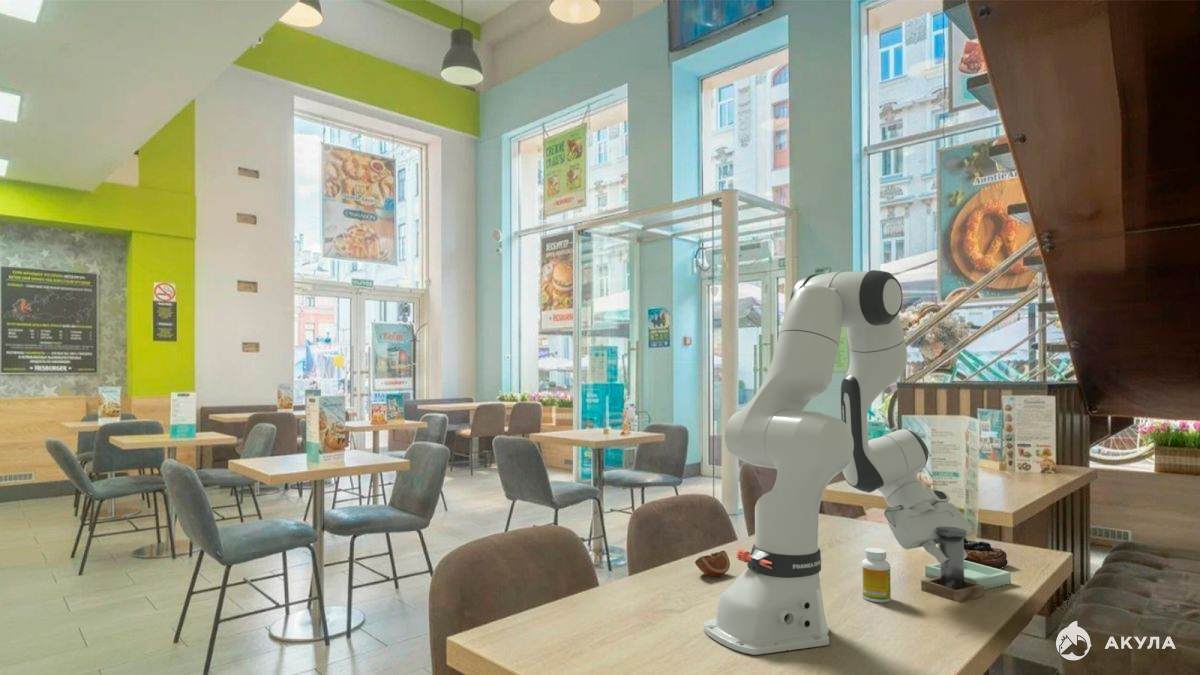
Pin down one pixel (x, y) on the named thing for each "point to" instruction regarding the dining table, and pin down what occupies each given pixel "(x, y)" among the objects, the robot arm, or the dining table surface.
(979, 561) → the pastry
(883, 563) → the supplement bottle
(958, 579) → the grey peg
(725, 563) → the fruit slice
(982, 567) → the tray
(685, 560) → the dining table surface
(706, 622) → the robot arm
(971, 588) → the socket block
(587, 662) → the dining table surface
